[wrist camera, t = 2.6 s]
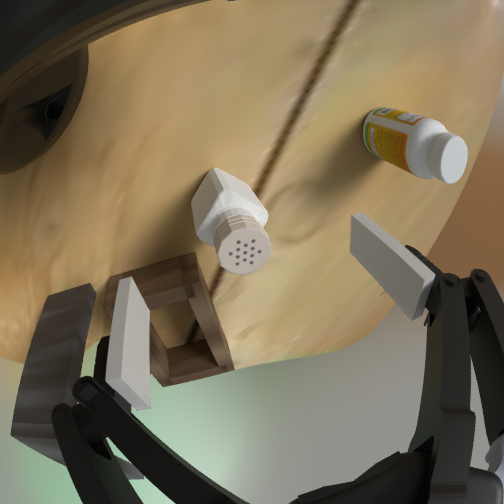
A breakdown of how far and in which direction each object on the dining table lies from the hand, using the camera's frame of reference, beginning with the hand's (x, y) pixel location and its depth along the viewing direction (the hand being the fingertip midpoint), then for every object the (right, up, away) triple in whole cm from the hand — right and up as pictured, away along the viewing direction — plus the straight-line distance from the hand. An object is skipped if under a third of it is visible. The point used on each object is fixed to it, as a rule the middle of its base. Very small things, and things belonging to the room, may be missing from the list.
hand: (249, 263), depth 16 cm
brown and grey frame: (-12, -7, +13) cm, 20 cm away
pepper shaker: (-3, +6, +8) cm, 10 cm away
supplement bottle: (+13, +13, +9) cm, 20 cm away
